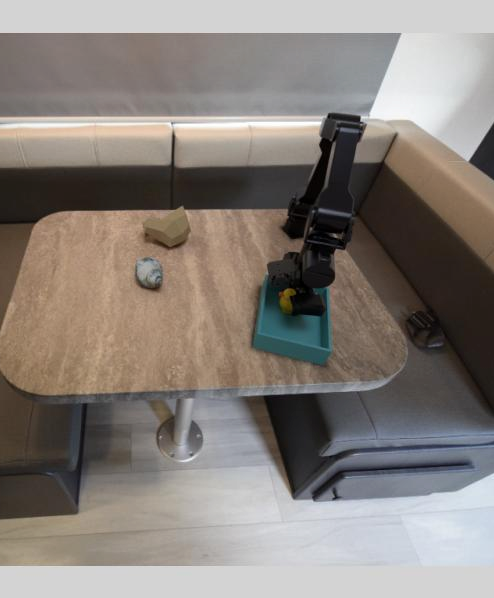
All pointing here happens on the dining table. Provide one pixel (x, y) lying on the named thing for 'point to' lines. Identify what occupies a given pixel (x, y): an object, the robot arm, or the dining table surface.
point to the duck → (286, 300)
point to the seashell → (148, 272)
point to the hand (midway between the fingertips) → (291, 307)
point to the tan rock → (168, 227)
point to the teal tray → (292, 328)
